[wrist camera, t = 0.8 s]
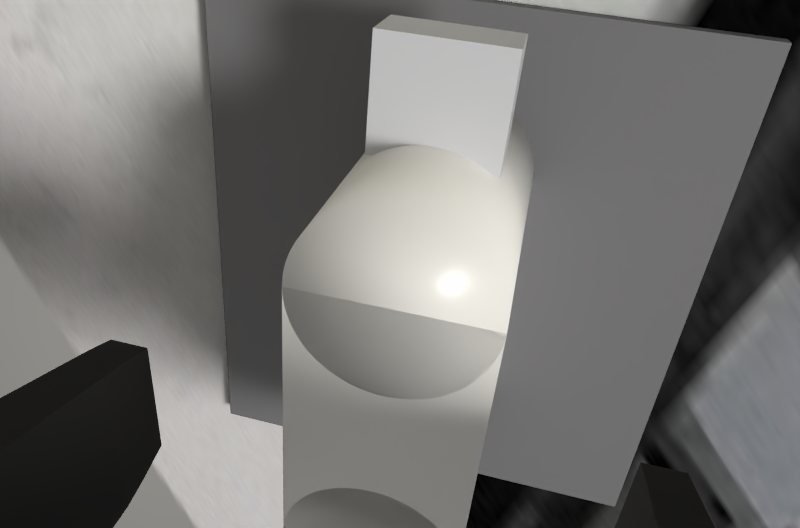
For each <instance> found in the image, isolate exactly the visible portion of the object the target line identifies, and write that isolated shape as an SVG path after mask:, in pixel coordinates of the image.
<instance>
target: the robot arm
mask: <svg viewBox="0 0 800 528" xmlns="http://www.w3.org/2000/svg"><path fill="white" fill-rule="evenodd" d="M160 447H161V439H160V432H159V425H158V418H157V411H156V404H155V397H154V391H153V384H152V377H151V370H150V363H149V356H148V350H147V348H144V347H140V346H136V345H132V344H127V343H123V342H119V341H114V340H109V341H107V342H105V343H103V344H101V345H99V346H97V347H95V348H93V349H91V350H89V351H87V352H85V353H83V354H81V355H79V356H78V357H76V358H74V359H72V360H70V361H69V362H66V363H64V364H63V365H61V366H59V367H57V368H56V369H53V370H52V371H50V372H48V373H46V374H44V375H42V376H41V377H39V378H37V379H35V380H33V381H32V382H29V383H28V384H26V385H24V386H22V387H20V388H18V389H17V390H15V391H13V392H11V393H9V394H7V395H5V396H3V397H2V398H0V528H113V527H114V525H115V524H116V523H117V521H118V520H119V518H120V517H121V515H122V514H123V513H124V511H125V510H126V508H127V507H128V505H129V503H130V502H131V500H132V498H133V496H134V495H135V493H136V491H137V489H138V488H139V486H140V484H141V482H142V481H143V479H144V477H145V475H146V473H147V471H148V470H149V468H150V466H151V464H152V462H153V460H154V458H155V456H156V454H157V453H158V451H159V449H160ZM615 528H717V527H716V525H715V523H714V521H713V519H712V517H711V515H710V513H709V511H708V509H707V507H706V505H705V503H704V501H703V499H702V497H701V495H700V493H699V491H698V489H697V487H696V485H695V483H694V481H693V480H692V478H691V477H690V475H689V474H688V473H684V472H680V471H675V470H671V469H667V468H662V467H658V466H654V465H649V464H645V463H640V466H639V468H638V471H637V473H636V476H635V478H634V481H633V483H632V486H631V488H630V491H629V493H628V496H627V499H626V501H625V504H624V506H623V509H622V511H621V514H620V516H619V519H618V521H617V524H616V526H615Z"/></svg>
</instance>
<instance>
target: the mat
mask: <svg viewBox="0 0 800 528" xmlns="http://www.w3.org/2000/svg"><path fill="white" fill-rule="evenodd" d="M205 11H206V27H207V43H208V59H209V75H210V91H211V107H212V123H213V139H214V155H215V171H216V186H217V202H218V218H219V234H220V250H221V266H222V282H223V298H224V314H225V330H226V346H227V362H228V377H229V393H230V409H231V413H232V414H236V415H240V416H244V417H248V418H252V419H256V420H260V421H264V422H269V423H273V424H277V425H281V426H283V378H282V276H283V270H284V266H285V262H286V259H287V257H288V254H289V252H290V250H291V248H292V247H293V245H294V243H295V242H296V240H297V239H298V237H299V236H300V235H301V234H302V232H303V231H304V230H305V229H306V227H307V226H308V225H309V223H310V222H311V221H312V220H313V218H314V217H315V216H316V214H317V213H318V212H319V211H320V209H321V208H322V207H323V205H324V204H325V203H326V202H327V200H328V199H329V198H330V196H331V195H332V194H333V193H334V191H335V190H336V189H337V187H338V186H339V185H340V184H341V182H342V181H343V180H344V178H345V177H346V176H347V175H348V173H349V172H350V171H351V170H352V168H353V167H354V166H355V164H356V163H357V162H358V161H359V159H360V158H361V157H362V155H363V154H364V153H365V144H366V128H367V112H368V96H369V80H370V64H371V48H372V32H373V27H375V26H376V25H377V24H379V23H380V22H381V21H383V20H384V19H385V18H387V17H388V16H390V15H399V16H406V17H413V18H420V19H427V20H434V21H442V22H449V23H456V24H463V25H470V26H478V27H485V28H492V29H499V30H506V31H513V32H521V33H528V38H527V43H526V49H525V55H524V60H523V66H522V71H521V77H520V82H519V88H518V93H517V99H516V104H515V110H514V116H515V117H516V118H517V120H518V121H519V122H520V124H521V125H522V127H523V128H524V130H525V132H526V134H527V136H528V138H529V141H530V144H531V147H532V151H533V158H534V173H533V181H532V187H531V193H530V199H529V205H528V211H527V217H526V223H525V229H524V235H523V241H522V247H521V253H520V259H519V265H518V271H517V277H516V283H515V289H514V295H513V301H512V307H511V313H510V319H509V325H508V331H507V336H506V341H505V346H504V351H503V355H502V360H501V365H500V369H499V374H498V379H497V384H496V388H495V393H494V398H493V402H492V407H491V412H490V417H489V421H488V426H487V431H486V435H485V440H484V445H483V449H482V454H481V459H480V464H479V468H478V474H483V475H487V476H491V477H495V478H499V479H503V480H507V481H511V482H515V483H520V484H524V485H528V486H532V487H536V488H540V489H544V490H548V491H553V492H557V493H561V494H565V495H569V496H573V497H577V498H581V499H585V500H590V501H594V502H598V503H602V504H606V505H610V506H614V507H615V505H616V502H617V499H618V497H619V494H620V491H621V489H622V486H623V484H624V481H625V478H626V476H627V473H628V471H629V468H630V465H631V463H632V460H633V457H634V455H635V452H636V450H637V447H638V444H639V442H640V439H641V437H642V434H643V431H644V429H645V426H646V423H647V421H648V418H649V416H650V413H651V410H652V408H653V405H654V403H655V400H656V397H657V395H658V392H659V390H660V387H661V384H662V382H663V379H664V376H665V374H666V371H667V369H668V366H669V363H670V361H671V358H672V356H673V353H674V350H675V348H676V345H677V342H678V340H679V337H680V335H681V332H682V329H683V327H684V324H685V322H686V319H687V316H688V314H689V311H690V308H691V306H692V303H693V301H694V298H695V295H696V293H697V290H698V288H699V285H700V282H701V280H702V277H703V274H704V272H705V269H706V267H707V264H708V261H709V259H710V256H711V254H712V251H713V248H714V246H715V243H716V240H717V238H718V235H719V233H720V230H721V227H722V225H723V222H724V220H725V217H726V214H727V212H728V209H729V206H730V204H731V201H732V199H733V196H734V193H735V191H736V188H737V186H738V183H739V180H740V178H741V175H742V172H743V170H744V167H745V165H746V162H747V159H748V157H749V154H750V152H751V149H752V146H753V144H754V141H755V138H756V136H757V133H758V131H759V128H760V125H761V123H762V120H763V118H764V115H765V112H766V110H767V107H768V105H769V102H770V99H771V97H772V94H773V91H774V89H775V86H776V84H777V81H778V78H779V76H780V73H781V71H782V68H783V65H784V63H785V60H786V57H787V55H788V52H789V50H790V47H791V44H792V43H791V42H790V41H789V40H788V39H782V38H775V37H767V36H760V35H752V34H745V33H737V32H729V31H722V30H714V29H707V28H699V27H692V26H684V25H677V24H669V23H662V22H654V21H646V20H639V19H631V18H624V17H616V16H609V15H601V14H594V13H586V12H579V11H571V10H564V9H556V8H548V7H541V6H533V5H526V4H518V3H511V2H503V1H496V0H205Z"/></svg>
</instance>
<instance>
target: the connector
mask: <svg viewBox="0 0 800 528" xmlns="http://www.w3.org/2000/svg"><path fill="white" fill-rule="evenodd" d="M527 38H528V33H521V32H513V31H506V30H499V29H492V28H485V27H478V26H470V25H463V24H456V23H449V22H442V21H434V20H427V19H420V18H413V17H406V16H399V15H390V16H388V17H387V18H385V19H384V20H383V21H381V22H380V23H379V24H377V25H376V26H375V27H373V32H372V48H371V64H370V80H369V96H368V112H367V128H366V144H365V153H364V154H363V155H362V157H361V158H360V159H359V161H358V162H357V163H356V164H355V166H354V167H353V168H352V170H351V171H350V172H349V173H348V175H347V176H346V177H345V178H344V180H343V181H342V182H341V184H340V185H339V186H338V187H337V189H336V190H335V191H334V193H333V194H332V195H331V196H330V198H329V199H328V200H327V202H326V203H325V204H324V205H323V207H322V208H321V209H320V211H319V212H318V213H317V214H316V216H315V217H314V218H313V220H312V221H311V222H310V223H309V225H308V226H307V227H306V229H305V230H304V231H303V232H302V234H301V235H300V236H299V237H298V239H297V240H296V242H295V243H294V245H293V247H292V248H291V250H290V252H289V254H288V257H287V259H286V262H285V266H284V270H283V276H282V378H283V509H284V528H466V525H467V520H468V515H469V511H470V506H471V501H472V497H473V492H474V487H475V482H476V478H477V473H478V468H479V464H480V459H481V454H482V449H483V445H484V440H485V435H486V431H487V426H488V421H489V417H490V412H491V407H492V402H493V398H494V393H495V388H496V384H497V379H498V374H499V369H500V365H501V360H502V355H503V351H504V346H505V341H506V336H507V331H508V325H509V319H510V313H511V307H512V301H513V295H514V289H515V283H516V277H517V271H518V265H519V259H520V253H521V247H522V241H523V235H524V229H525V223H526V217H527V211H528V205H529V199H530V193H531V187H532V181H533V173H534V158H533V151H532V147H531V144H530V141H529V138H528V136H527V134H526V132H525V130H524V128H523V127H522V125H521V124H520V122H519V121H518V120H517V118H516V117H515V116H514V110H515V104H516V99H517V93H518V88H519V82H520V77H521V71H522V66H523V60H524V55H525V49H526V43H527Z"/></svg>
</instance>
